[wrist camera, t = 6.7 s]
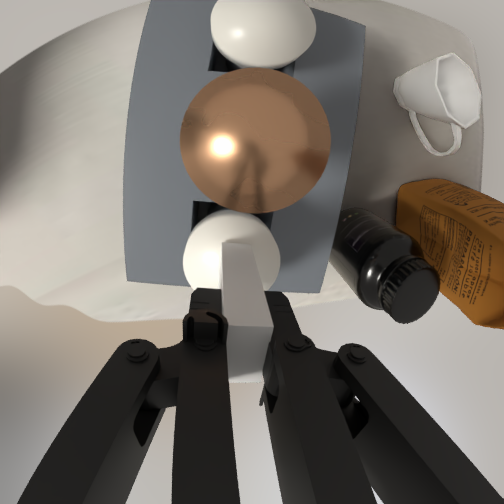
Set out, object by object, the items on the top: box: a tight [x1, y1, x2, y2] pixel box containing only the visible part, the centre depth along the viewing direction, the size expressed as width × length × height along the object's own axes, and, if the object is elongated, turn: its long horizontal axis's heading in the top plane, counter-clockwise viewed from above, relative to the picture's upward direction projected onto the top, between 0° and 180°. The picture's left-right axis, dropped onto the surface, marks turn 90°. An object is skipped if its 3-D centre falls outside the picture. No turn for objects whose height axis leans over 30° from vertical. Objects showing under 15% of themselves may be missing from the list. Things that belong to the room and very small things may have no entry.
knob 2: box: [183, 202, 280, 291], centre depth 18 cm, size 5×5×8 cm
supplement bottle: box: [329, 208, 441, 324], centre depth 22 cm, size 7×7×12 cm
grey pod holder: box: [123, 0, 365, 293], centre depth 19 cm, size 14×20×8 cm
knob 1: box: [211, 0, 316, 72], centre depth 13 cm, size 5×5×8 cm
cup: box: [393, 52, 482, 156], centre depth 18 cm, size 7×10×8 cm
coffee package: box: [396, 179, 504, 329], centre depth 18 cm, size 10×12×22 cm
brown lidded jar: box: [180, 68, 331, 214], centre depth 12 cm, size 5×5×8 cm
